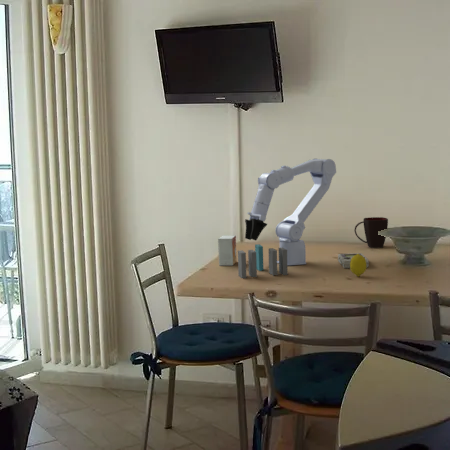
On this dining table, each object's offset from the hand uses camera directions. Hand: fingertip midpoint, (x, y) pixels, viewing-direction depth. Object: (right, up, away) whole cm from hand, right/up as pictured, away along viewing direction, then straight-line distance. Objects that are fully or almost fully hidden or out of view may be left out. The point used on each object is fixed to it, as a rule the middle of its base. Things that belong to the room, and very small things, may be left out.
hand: (250, 239), depth 251 cm
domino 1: (-3, -13, -10) cm, 17 cm away
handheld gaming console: (+39, -10, +6) cm, 40 cm away
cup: (+53, -4, +40) cm, 66 cm away
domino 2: (0, -13, -9) cm, 16 cm away
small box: (-8, -10, +14) cm, 19 cm away
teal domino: (+3, -11, +2) cm, 12 cm away
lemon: (+36, -13, -15) cm, 42 cm away
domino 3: (+8, -12, -7) cm, 16 cm away
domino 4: (+11, -12, -7) cm, 18 cm away
